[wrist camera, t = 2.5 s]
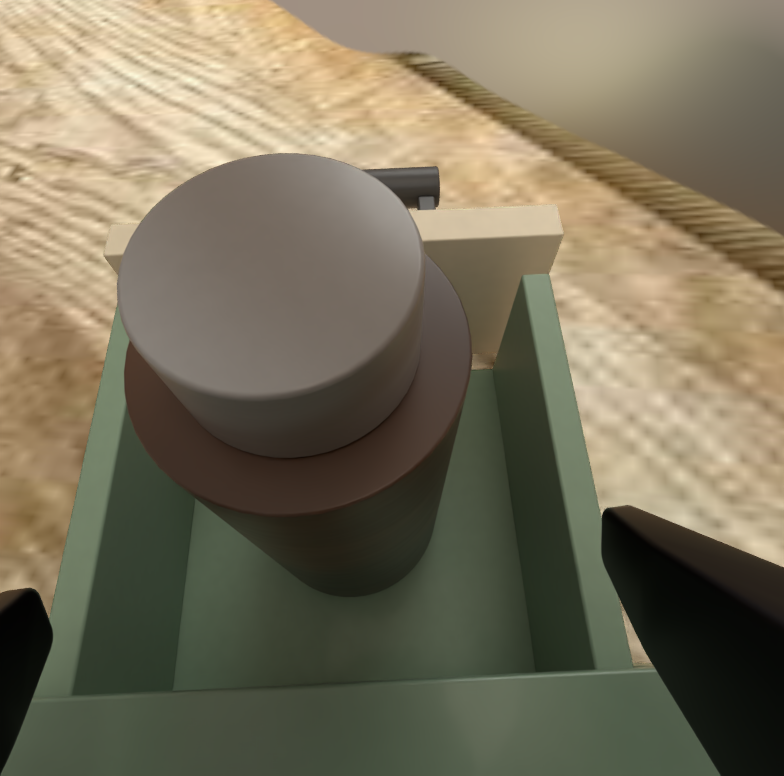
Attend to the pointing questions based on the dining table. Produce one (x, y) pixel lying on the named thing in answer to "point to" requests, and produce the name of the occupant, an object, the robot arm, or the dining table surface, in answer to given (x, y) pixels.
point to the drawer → (431, 574)
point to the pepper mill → (297, 363)
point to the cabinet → (372, 729)
